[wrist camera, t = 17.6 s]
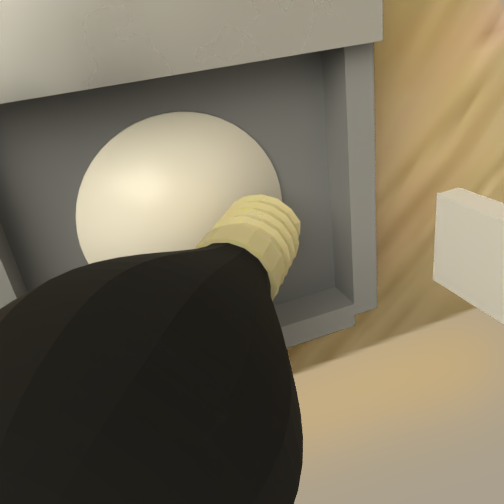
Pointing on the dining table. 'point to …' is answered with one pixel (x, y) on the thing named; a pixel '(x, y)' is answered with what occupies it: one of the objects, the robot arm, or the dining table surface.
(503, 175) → the dining table surface
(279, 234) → the light bulb
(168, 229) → the holder
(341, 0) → the lid
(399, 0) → the dining table surface
